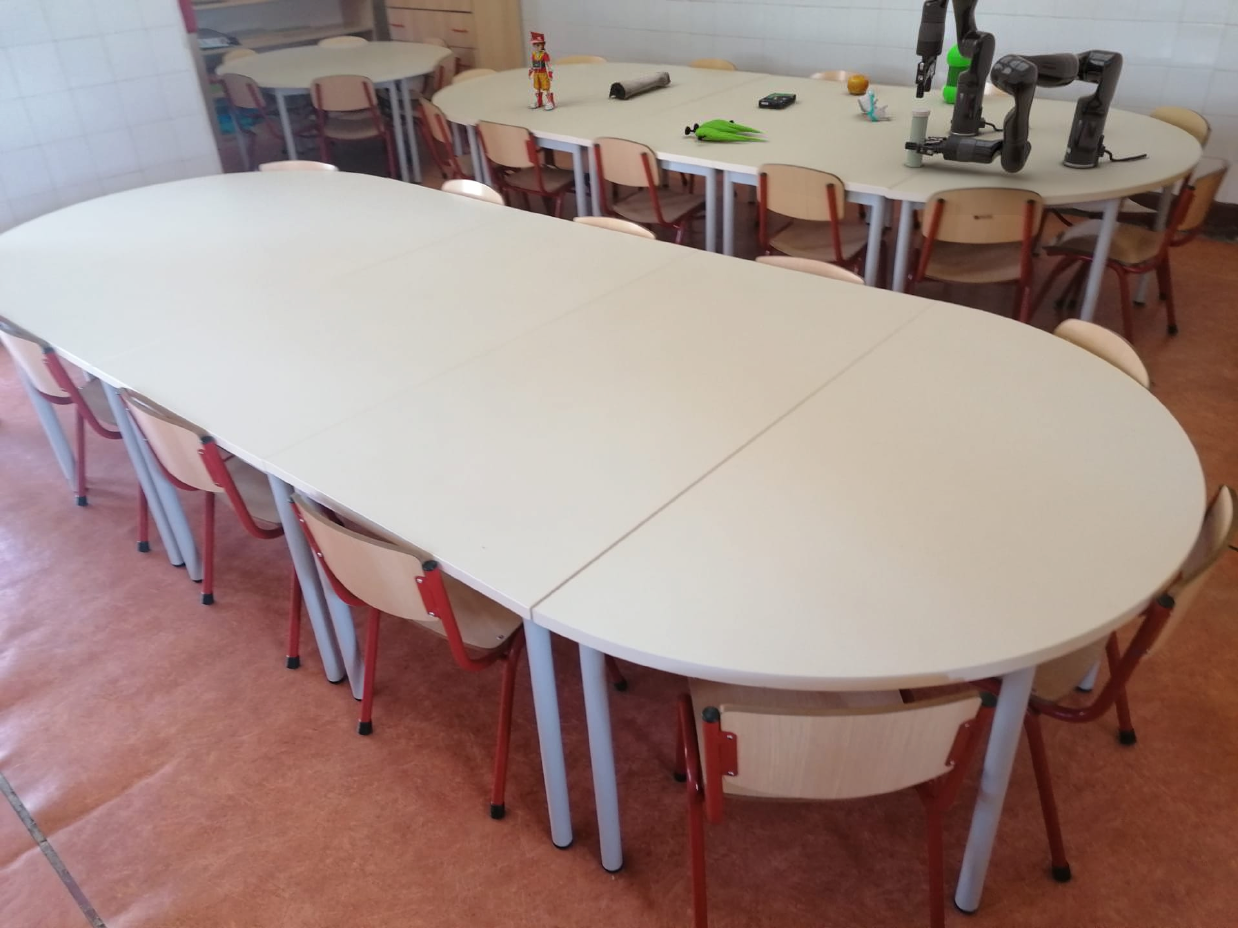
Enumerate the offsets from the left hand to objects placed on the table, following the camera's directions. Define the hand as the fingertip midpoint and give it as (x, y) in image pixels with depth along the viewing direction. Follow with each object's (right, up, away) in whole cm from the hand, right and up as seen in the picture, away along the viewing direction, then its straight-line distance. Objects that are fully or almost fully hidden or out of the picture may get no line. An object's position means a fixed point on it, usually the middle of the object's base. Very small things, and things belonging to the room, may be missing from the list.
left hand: (922, 94), depth 280 cm
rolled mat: (-85, +49, +117) cm, 153 cm away
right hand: (-1, -12, +10) cm, 15 cm away
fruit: (+5, +39, +95) cm, 103 cm away
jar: (+1, -18, +12) cm, 22 cm away
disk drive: (-30, +32, +86) cm, 97 cm away
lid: (0, -4, +3) cm, 5 cm away
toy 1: (-128, +37, +103) cm, 168 cm away
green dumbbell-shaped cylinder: (+38, +28, +75) cm, 89 cm away
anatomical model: (+2, +18, +63) cm, 66 cm away
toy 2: (-55, +5, +50) cm, 74 cm away
